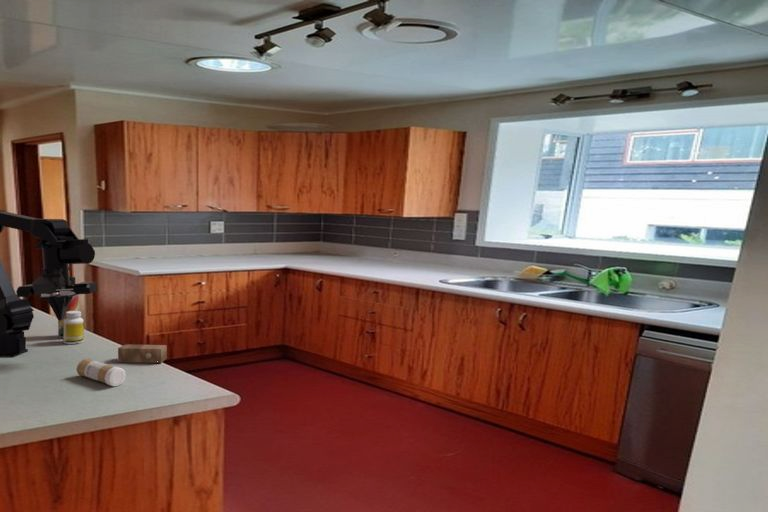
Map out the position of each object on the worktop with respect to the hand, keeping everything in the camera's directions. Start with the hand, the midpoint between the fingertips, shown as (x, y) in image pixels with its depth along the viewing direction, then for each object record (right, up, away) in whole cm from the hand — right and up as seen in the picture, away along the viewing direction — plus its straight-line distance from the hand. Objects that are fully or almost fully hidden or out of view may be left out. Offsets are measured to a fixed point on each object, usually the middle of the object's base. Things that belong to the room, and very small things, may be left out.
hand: (60, 319), depth 139 cm
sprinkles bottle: (+12, -11, -10) cm, 19 cm away
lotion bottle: (-13, -9, +24) cm, 29 cm away
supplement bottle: (-8, -10, +18) cm, 22 cm away
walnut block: (+15, -10, +4) cm, 18 cm away
